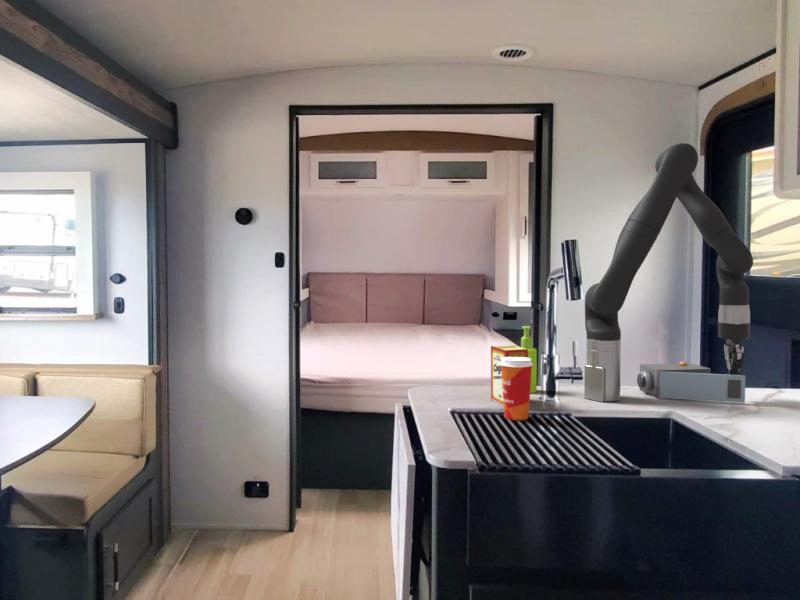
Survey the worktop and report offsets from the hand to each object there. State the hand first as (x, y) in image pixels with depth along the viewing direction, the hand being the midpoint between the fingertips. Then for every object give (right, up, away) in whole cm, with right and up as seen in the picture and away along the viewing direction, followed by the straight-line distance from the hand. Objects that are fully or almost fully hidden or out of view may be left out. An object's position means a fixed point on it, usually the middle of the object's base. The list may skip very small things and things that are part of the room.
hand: (733, 382), depth 152 cm
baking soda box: (-62, -6, +2) cm, 63 cm away
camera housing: (-12, -5, +11) cm, 17 cm away
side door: (-9, -5, +1) cm, 11 cm away
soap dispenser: (-54, -5, +16) cm, 57 cm away
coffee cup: (-63, -7, -14) cm, 65 cm away
